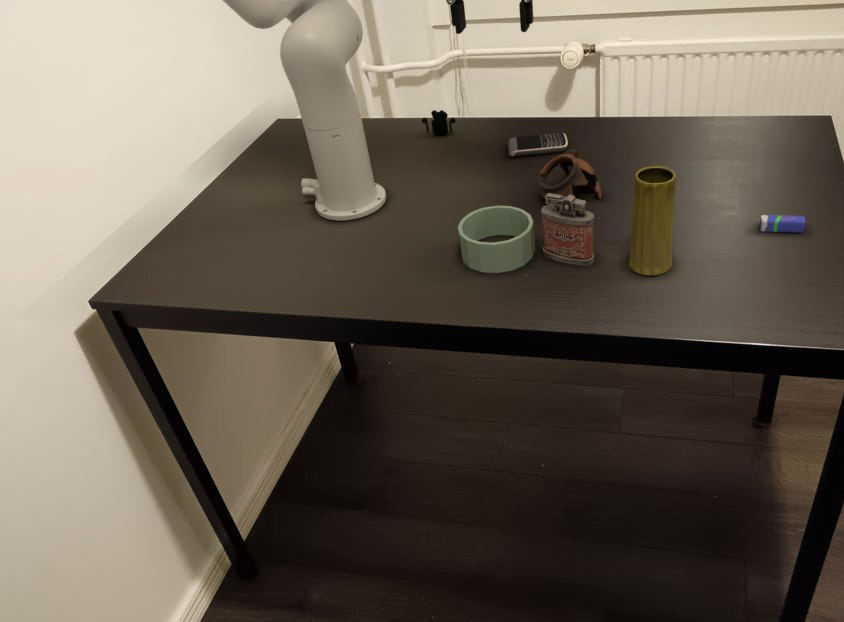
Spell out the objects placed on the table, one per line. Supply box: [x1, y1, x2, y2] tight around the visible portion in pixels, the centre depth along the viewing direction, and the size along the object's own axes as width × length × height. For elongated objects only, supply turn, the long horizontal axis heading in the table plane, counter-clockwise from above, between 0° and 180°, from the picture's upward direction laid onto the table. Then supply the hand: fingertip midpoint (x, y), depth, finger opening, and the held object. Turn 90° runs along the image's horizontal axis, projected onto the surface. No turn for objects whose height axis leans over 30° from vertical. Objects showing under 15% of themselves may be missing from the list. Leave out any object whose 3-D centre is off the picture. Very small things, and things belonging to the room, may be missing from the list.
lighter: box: [540, 193, 595, 266], centre depth 110 cm, size 8×3×10 cm, turn 58°
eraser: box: [759, 214, 806, 234], centre depth 112 cm, size 2×6×2 cm, turn 73°
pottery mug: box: [538, 148, 602, 200], centre depth 126 cm, size 12×10×8 cm
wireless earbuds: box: [421, 109, 457, 136], centre depth 151 cm, size 7×2×5 cm, turn 75°
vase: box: [628, 165, 677, 277], centre depth 105 cm, size 6×6×14 cm
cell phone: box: [507, 132, 569, 158], centre depth 142 cm, size 6×11×1 cm, turn 89°
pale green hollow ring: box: [457, 205, 536, 274], centre depth 115 cm, size 11×11×5 cm
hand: (493, 30), depth 109 cm, fingers open, 9 cm apart
